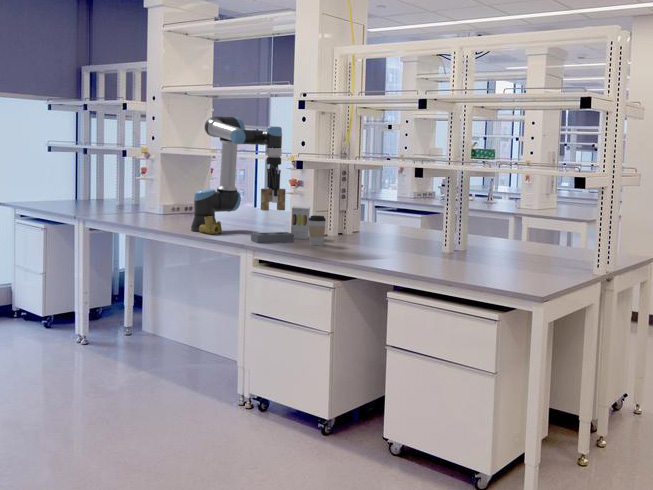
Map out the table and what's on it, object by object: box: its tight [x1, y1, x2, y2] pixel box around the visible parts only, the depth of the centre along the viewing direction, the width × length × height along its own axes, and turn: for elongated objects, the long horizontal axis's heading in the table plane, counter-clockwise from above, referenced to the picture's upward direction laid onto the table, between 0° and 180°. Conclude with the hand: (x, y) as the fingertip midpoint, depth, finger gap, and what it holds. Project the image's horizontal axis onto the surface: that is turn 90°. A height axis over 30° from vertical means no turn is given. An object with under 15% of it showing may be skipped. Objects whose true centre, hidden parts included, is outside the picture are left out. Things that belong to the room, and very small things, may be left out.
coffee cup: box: [309, 215, 327, 246], centre depth 372 cm, size 9×9×15 cm
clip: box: [260, 188, 286, 212], centre depth 377 cm, size 12×4×11 cm, turn 116°
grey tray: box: [250, 231, 295, 244], centre depth 379 cm, size 20×10×4 cm, turn 116°
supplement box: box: [290, 206, 311, 240], centre depth 396 cm, size 10×9×17 cm
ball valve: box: [199, 216, 223, 235], centre depth 403 cm, size 13×10×10 cm
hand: (273, 202), depth 377 cm, fingers closed on clip, 4 cm apart
